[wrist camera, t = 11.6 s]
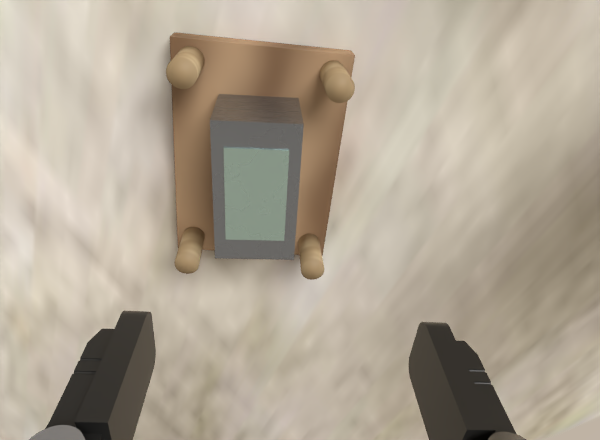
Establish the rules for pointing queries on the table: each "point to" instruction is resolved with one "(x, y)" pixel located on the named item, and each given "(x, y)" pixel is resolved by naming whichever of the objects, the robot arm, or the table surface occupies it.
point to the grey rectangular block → (255, 175)
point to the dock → (256, 82)
